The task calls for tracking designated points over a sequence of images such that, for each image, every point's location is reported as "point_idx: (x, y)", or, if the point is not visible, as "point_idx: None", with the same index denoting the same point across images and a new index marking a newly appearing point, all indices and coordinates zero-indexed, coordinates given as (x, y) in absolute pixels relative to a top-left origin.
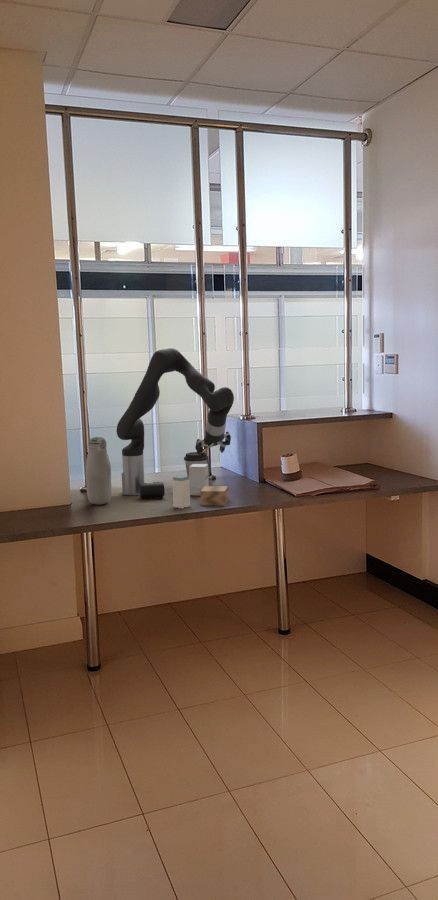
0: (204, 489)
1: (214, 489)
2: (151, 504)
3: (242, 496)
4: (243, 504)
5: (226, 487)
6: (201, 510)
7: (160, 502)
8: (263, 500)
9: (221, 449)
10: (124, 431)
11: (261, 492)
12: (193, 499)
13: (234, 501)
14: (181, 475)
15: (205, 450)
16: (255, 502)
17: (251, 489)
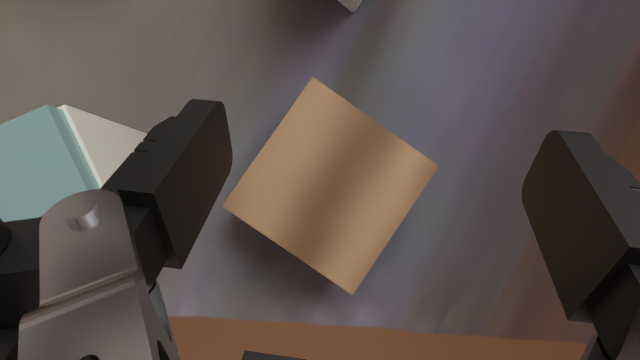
0: (267, 172)
1: (321, 207)
2: (11, 40)
3: (506, 141)
4: (426, 306)
5: (412, 195)
6: (186, 312)
7: (74, 23)
8: (550, 281)
9: (550, 231)
10: None
11: (629, 112)
12: (259, 59)
13: (419, 221)
14: (52, 117)
15: (168, 328)
16: (496, 299)
17: (621, 18)
